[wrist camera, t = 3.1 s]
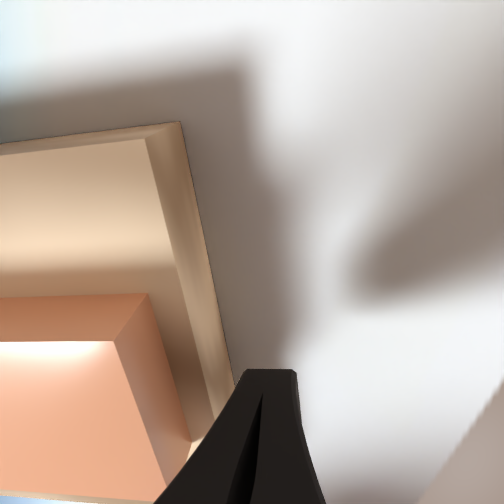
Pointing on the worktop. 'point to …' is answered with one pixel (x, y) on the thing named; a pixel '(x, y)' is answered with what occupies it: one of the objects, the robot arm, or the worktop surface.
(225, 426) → the robot arm
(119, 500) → the wooden board
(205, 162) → the worktop surface
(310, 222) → the worktop surface
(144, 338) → the tile
